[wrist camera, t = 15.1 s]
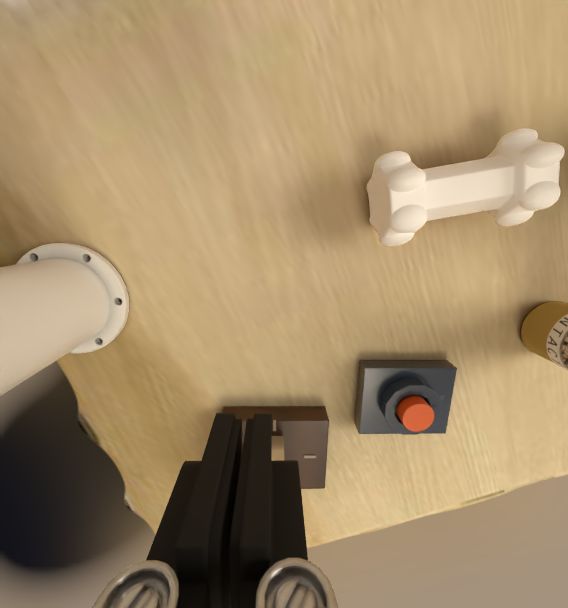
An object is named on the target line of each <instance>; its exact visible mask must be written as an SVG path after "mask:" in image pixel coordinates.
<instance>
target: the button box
mask: <svg viewBox="0 0 568 608" xmlns="http://www.w3.org/2000/svg"><path fill="white" fill-rule="evenodd" d="M456 370H457V368H456V367H455V366H453V365H452V364H451V363H450V362H448V361H447V360H360V367H359V378H358V390H357V401H356V413H355V425H356V427H357V430H358V432H359V434H419V433H446V427H447V422H448V416H449V410H450V404H451V399H452V393H453V387H454V381H455V376H456ZM408 396H419V397H422V398H423V399H424V400H425V401H426V402H427V403H428V405H429V406H430V407H431V408H432V410H433V412H434V420H433V422H432V424H431V425H430V426H429V427H428V428H427V429H425V430H423V431H419V432H414V431H410V430H408V429H407V428H406V427H405V426H404V425H403V423H402V422H401V420H400V418H399V417H398V415H397V407H398V404H399V403H400V401H401V400H403V399H404V398H406V397H408Z"/></svg>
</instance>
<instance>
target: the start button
mask: <svg viewBox="0 0 568 608" xmlns="http://www.w3.org/2000/svg"><path fill="white" fill-rule="evenodd" d="M397 415H398V417H399V418H400V420H401V422H402V423H403V425H404V426H405V427H406V428H407V429H408V430H410V431H414V432H419V431H423V430H425V429H427V428H428V427H429V426H430V425H431V424H432V422H433V420H434V412H433V410H432V408H431V407H430V406H429V405H428V403H427V402H426V401H425V400H424V399H423V398H422V397H419V396H408V397H406V398H404V399H403V400H401V401H400V403H399V404H398V407H397Z"/></svg>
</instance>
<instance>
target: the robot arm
mask: <svg viewBox="0 0 568 608" xmlns="http://www.w3.org/2000/svg"><path fill="white" fill-rule="evenodd" d="M89 256H90V257H91V259H90V257H89ZM120 299H121V300H122V301H120ZM128 314H129V296H128V292H127V289H126V286H125V284H124V282H123V279H122V277H121V276H120V274H119V273H118V272H117V270H116V269H115V267H114V266H113V265H112V264H111V263H110V262H109V261H108V260H107V259H105V258H104V257H103V256H101V255H100V254H98V253H97V252H95V251H93V250H91V249H89V248H87V247H84V246H80V245H77V244H72V243H52V244H46V245H41V246H39V247H36V248H34V249H32V250H30V251H29V252H27V253H26V254H24V255H23V256H22V257H21V258H20V260H19V261H18V262H17V263H16V265H10V266H4V267H0V396H1V395H3V394H4V393H6V392H7V391H9V390H10V389H12V388H14V387H15V386H17V385H18V384H20V383H21V382H23V381H24V380H26V379H28V378H29V377H31V376H32V375H34V374H36V373H37V372H39V371H40V370H42V369H44V368H45V367H47V366H48V365H50V364H51V363H53V362H54V361H56V360H58V359H59V358H61V357H62V356H64V355H66V354H67V353H76V354H77V353H88V352H92V351H95V350H98V349H100V348H102V347H104V346H106V345H107V344H109V343H110V342H111V341H113V340H114V339H115V338H116V337H117V336H118V335H119V334H120V332H121V331H122V329H123V328H124V326H125V324H126V321H127V318H128ZM101 339H102V340H101ZM92 608H338V604H337V601H336V597H335V594H334V591H333V589H332V586H331V584H330V582H329V580H328V578H327V576H326V575H325V574H324V573H323V571H322V570H321V569H320V568H319V567H317V566H316V565H315V564H313V563H312V562H310V561H308V557H307V547H306V537H305V527H304V516H303V506H302V496H301V485H300V475H299V465H298V460H275V461H272V413H254V418H247V421H246V428H245V435H244V443H243V445H242V418H236V417H235V413H217V414H216V416H215V419H214V422H213V426H212V429H211V432H210V435H209V439H208V442H207V445H206V448H205V452H204V455H203V458H202V461H185V462H184V463H183V466H182V468H181V470H180V473H179V475H178V478H177V481H176V483H175V486H174V489H173V491H172V494H171V496H170V499H169V502H168V504H167V507H166V510H165V512H164V515H163V518H162V520H161V523H160V525H159V528H158V531H157V533H156V536H155V539H154V541H153V544H152V546H151V549H150V552H149V554H148V557H147V560H146V561H142V562H139V563H137V564H133V565H132V566H130V567H128V568H127V569H125V570H123V571H122V572H120V573H119V574H118V575H117V576H116V577H115V578H114V579H112V580H111V581H110V583H108V585H107V586H106V587H105V589H104V590H103V591H102V593H101V594H100V595H99V597H98V598H97V600H96V602H95V604H94V605H93V607H92Z"/></svg>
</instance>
